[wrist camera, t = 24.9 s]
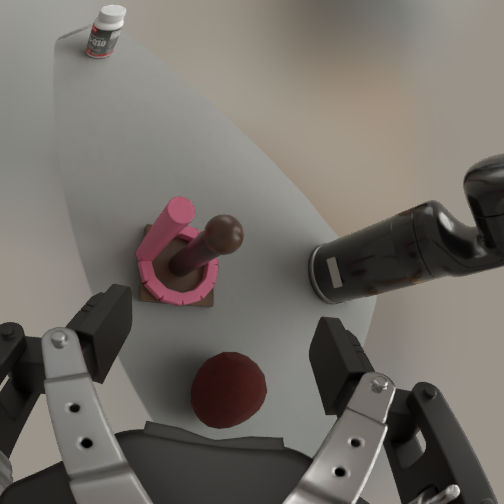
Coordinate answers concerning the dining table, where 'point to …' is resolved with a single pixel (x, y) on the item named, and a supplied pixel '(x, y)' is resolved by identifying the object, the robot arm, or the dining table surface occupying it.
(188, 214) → the pink ring with post
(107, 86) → the dining table surface
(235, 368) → the potato
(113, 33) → the pill bottle
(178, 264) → the stand
